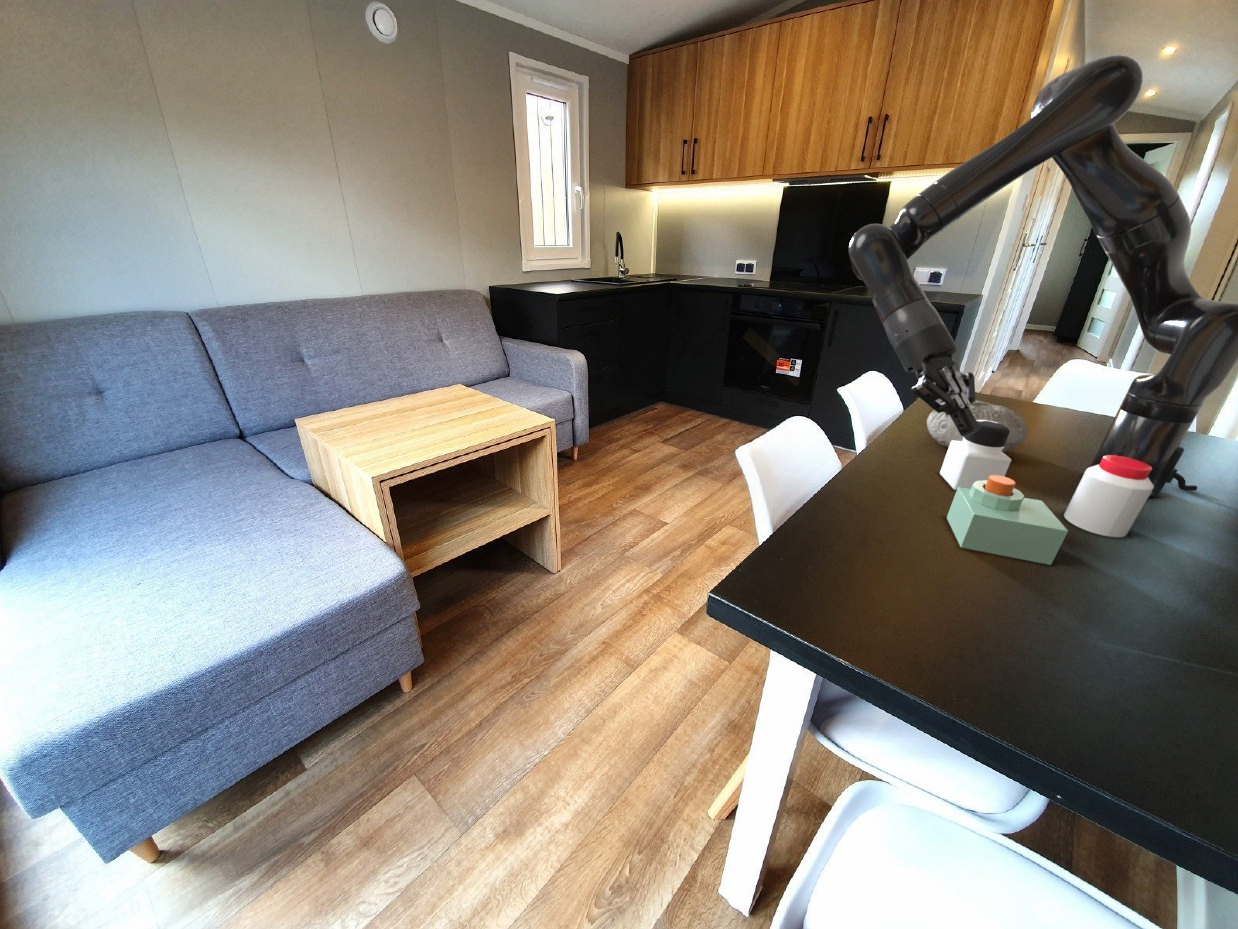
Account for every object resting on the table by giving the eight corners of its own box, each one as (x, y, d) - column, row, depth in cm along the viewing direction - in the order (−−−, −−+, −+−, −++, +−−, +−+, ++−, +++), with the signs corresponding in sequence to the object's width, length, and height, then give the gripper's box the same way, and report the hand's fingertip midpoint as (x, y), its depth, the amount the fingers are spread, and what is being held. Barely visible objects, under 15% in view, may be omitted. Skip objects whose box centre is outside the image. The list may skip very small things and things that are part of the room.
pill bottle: (1111, 517, 81) (1143, 456, 76) (1138, 541, 74) (1176, 477, 70) (1055, 508, 83) (1083, 448, 78) (1076, 531, 76) (1109, 468, 72)
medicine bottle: (997, 495, 86) (1024, 432, 81) (953, 490, 88) (977, 428, 82) (979, 478, 93) (1002, 418, 88) (938, 473, 94) (959, 414, 89)
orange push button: (1006, 489, 73) (1011, 477, 72) (1013, 499, 70) (1019, 486, 69) (981, 485, 74) (986, 473, 73) (987, 494, 71) (992, 482, 70)
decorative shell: (915, 427, 117) (928, 387, 113) (1003, 440, 111) (1020, 398, 107) (928, 455, 102) (943, 410, 98) (1030, 471, 96) (1051, 424, 92)
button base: (1026, 532, 76) (1046, 489, 72) (1051, 565, 68) (1074, 519, 65) (946, 517, 79) (961, 476, 76) (960, 547, 71) (978, 503, 68)
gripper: (912, 323, 72) (970, 429, 68) (964, 319, 78) (1020, 416, 73) (872, 352, 79) (922, 450, 74) (922, 346, 84) (972, 437, 80)
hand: (971, 433), depth 74 cm, fingers closed
